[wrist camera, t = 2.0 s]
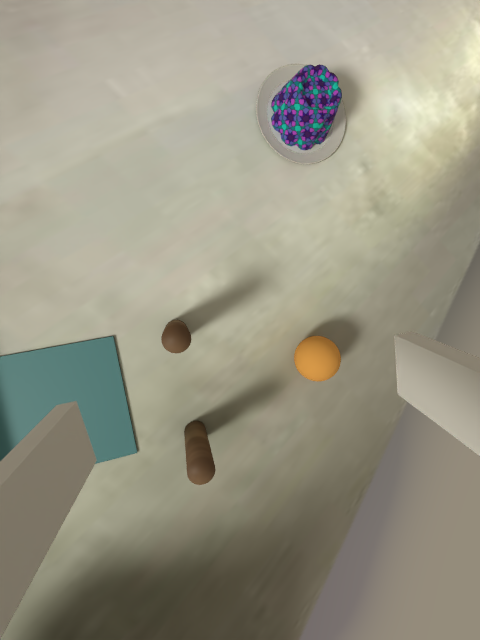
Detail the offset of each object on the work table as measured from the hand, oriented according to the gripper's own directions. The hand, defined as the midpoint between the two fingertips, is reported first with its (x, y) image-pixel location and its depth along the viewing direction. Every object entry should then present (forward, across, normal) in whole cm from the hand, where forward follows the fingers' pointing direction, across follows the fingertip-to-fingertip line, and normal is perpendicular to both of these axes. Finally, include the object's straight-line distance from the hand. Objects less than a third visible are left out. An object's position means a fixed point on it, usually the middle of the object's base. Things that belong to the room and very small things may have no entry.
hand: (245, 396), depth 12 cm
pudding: (+31, -14, -20) cm, 39 cm away
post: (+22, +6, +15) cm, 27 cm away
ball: (+22, -10, +9) cm, 26 cm away
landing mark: (+21, +20, +8) cm, 30 cm away
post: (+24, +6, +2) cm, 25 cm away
